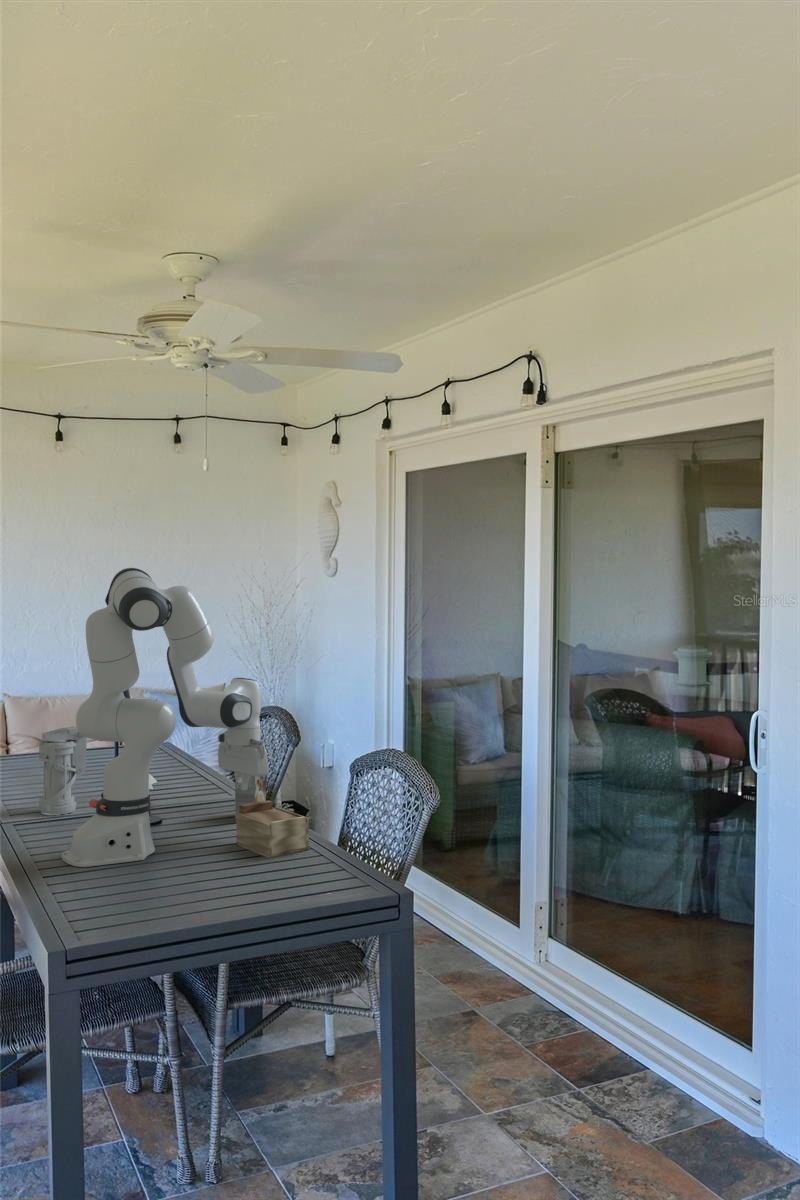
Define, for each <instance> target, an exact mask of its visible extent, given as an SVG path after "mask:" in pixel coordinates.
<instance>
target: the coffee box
mask: <svg viewBox="0 0 800 1200" xmlns="http://www.w3.org/2000/svg"><path fill="white" fill-rule="evenodd" d="M266 776H267V775H266ZM266 776H259V777H256V776H251V778H250V780H249V782H248V789H247V790H240V789H237V788H236V786H237V782H236V779H235V778H234V781H235V782H234V783H235V784H234V790H235V791H234V792H235V793H234V796H235V797H234V798H235V799H234V805H235V807H234V811H235V812H234V816H235V817H234V818H235V821H237V813H239V805H242V804H248V803H255V802H261V801H267V799H266V795H267V793H266V792H267V791H266V784H267V782H266Z"/></svg>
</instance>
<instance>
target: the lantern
mask: <svg viewBox="0 0 800 1200" xmlns="http://www.w3.org/2000/svg"><path fill="white" fill-rule="evenodd" d="M41 736H42V738H41V739H42V740H41V741H40V742H38V745H39V746H38V747H39V749H38V752H39V755H38V759H39V761H41V762H43V794H42V796H40V798H39V800H38V803H39V804H38V805H39V812H40V811H41V812H43V813H50V814H61V813H68V812H72V811H74V810H75V811H76V808H77V801H75V796H74V795H73V784H74V783H75V781H76V780H77V779H78V778H81V776H82V775H83V773H84V772H85V771H86V770H87V738H86V737H83V736H82V735H81V734H80V732H79V731H78V729H77V726H76V725H75V726H74V725H72V726H65V727H61V728H57V729H53V730H49V731H45V732H42V735H41ZM75 811H74V812H75ZM41 812H40V813H41Z"/></svg>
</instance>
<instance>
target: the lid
mask: <svg viewBox="0 0 800 1200" xmlns="http://www.w3.org/2000/svg"><path fill="white" fill-rule="evenodd" d="M273 804H274V802H273V801H271V800H269V799H268V800H266V801H261V802H255V803H248V804H242V805H239V813H240V814H242V815H245V816H248V817H250V818H253V819H256V820H258V821H261V822H264V823H266V824H269V825H270V822H274V821H280V820H286V819H292V818H298V817H297V816H294V815H291V814H289V813H286V812H283V811H280V810H277V809H275V807H273V806H274V805H273Z"/></svg>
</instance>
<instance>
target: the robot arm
mask: <svg viewBox="0 0 800 1200" xmlns="http://www.w3.org/2000/svg"><path fill="white" fill-rule="evenodd" d="M104 601H105V604H106V607H104V608H101V609H98V610H95V611H94V612H92V613H90V615H89V616H88V617H87V618H86V620H85V640H86V650H87V655H88V656H87V657H88V659H89V665H90V669H91V676H92V677H91V678H92V690H91V694H90V695H89V697H88V698H87V699H86V700H85V701H83V703H81V705H80V706H79V708H78V709H77V712H76V715H75V726H77V729H78V731H79V732H80V734H81V735H82V736H83V737H86V739H91V740H95V741H99V742H112V743H113V742H119V743H120V742H121V743H123V750H122V753H121V754H120V755H117V756H116V757H114V758H112V759H111V760H109V761H108V762H107V763H106V764H105V766H104V768H103V772H102V773H103V774H102V775H103V777H102V778H103V779H102V782H103V783H102V784H103V787H102V788H103V789H102V791H103V792H102V794H103V795H102V797H101V799H99V800H97V799H95V798H92V799H90V800H89V801H88V806H89V807H91V808H93V809H95V814H94V815H92V816H91V817H90V818H89V819H88V820H87V821H85V822H84V823H83V824H82V825H81V826H79V827H78V828H77V829H76V830H75V831H74V832H73V835H72V839H71V845H70V849H68V850H65V851H63V852H62V853H61V857H60V858H61V859H62V861H63V862H64V863H66V864H68V865H69V866H73V867H79V868H88V867H90V868H91V867H95V866H105V865H113V864H120V863H121V864H122V863H129V862H137V861H143V860H145V859H146V858H147V857H148V856H150V855H151V854H153V853H155V851H156V847H155V844H154V842H153V836H152V831H151V830H152V829H151V821H150V816H151V808H152V807H151V804H152V803H151V795H150V794H149V789H150V787H149V786H150V785H149V783H150V769H151V763H152V760H153V758H154V755H155V753H156V752H157V750H158V749H159V748H160V747H161V745H162V744H163V743H165V742H166V741H167V740H168V739H170V738H171V736H172V735H174V734H173V733H174V731H175V730H176V728H177V727H176V725H177V715H176V711H175V709H174V708H173V707H172V704H170V703H169V702H165V701H161V700H156V699H151V698H129V697H126V696H125V693H124V692H126V691H127V690H129V689H130V688H132V687H133V686H134V685H135V684H137V682H138V679H139V677H140V667H139V662H138V657H137V656H138V655H137V652H136V648H135V642H134V638H133V630H136V631H139V632H141V631H142V632H143V631H149V630H153V629H155V628H161V627H162V629H163V631H164V633H165V636H166V638H167V640H168V644H169V645H168V647H167V650H166V661H167V665H168V668H169V671H170V672H169V673H170V675H171V679H172V682H173V686H174V689H175V692H176V695H177V701H178V710H179V716H180V717H181V720H182V721H183V722H184V723H185V724H186V726H188V727H191V728H215V729H218V728H220V729H227V730H225V731H223V732H221V733H219V734H218V735H217V741H218V743H219V744H218V749H217V757H218V758H217V760H218V761H217V762H218V767H219V769H221V770H222V769H223V770H226V771H230V772H234V773H233V776H234V780H235V779H236V782H237V786H236V788H237V789H240V790H247V789H248V782H249V780H250V778H251V776H256V777H259V776H267V775H268V771H269V763H268V762H269V761H268V752H267V749H266V747H265V745H264V743H263V741H261V723H260V716H261V711H262V694H261V686H260V684H259V682H258V681H257V680H255V679H252V678H246V677H234V678H232V679H231V681H230V684H229V685H228V686H227V687H225V688H224V689H222V690H209V689H208V690H207V689H204V688H202V687H201V686H199V685H198V682H197V678H196V674H195V671H194V668H193V663H195V662H197V661H198V660H200V659H202V658H203V657H204V656H206V655H207V654H208V652H209V651H210V650H211V649H212V646H213V644H214V640H215V637H214V631H213V627H212V625H211V623H210V621H209V618H208V616H207V614H206V611H205V609H204V608H203V606H202V604H201V602H200V601H199V599H198V598H197V596H196V595H195V593H194V592H193V591H192V589H190V588H189V587H187V586H183V585H176V586H175V585H174V586H171V587H168V588H165V589H161V588H159V587H158V586H157V585H156V583H155V582H154V580H153V579H152V577H151V576H150V574H148V573H147V572H146V571H144V570H143V569H139V568H136V567H127V568H123V569H121V570H119V571H118V572H116V574H115V575H114V576H113V578H112V580H111V583H110V585H109V589H108V592H107V594H106V596H105V600H104Z"/></svg>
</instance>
